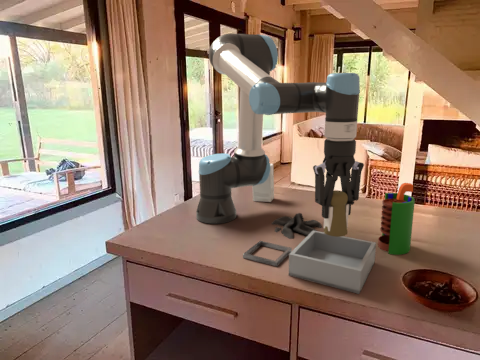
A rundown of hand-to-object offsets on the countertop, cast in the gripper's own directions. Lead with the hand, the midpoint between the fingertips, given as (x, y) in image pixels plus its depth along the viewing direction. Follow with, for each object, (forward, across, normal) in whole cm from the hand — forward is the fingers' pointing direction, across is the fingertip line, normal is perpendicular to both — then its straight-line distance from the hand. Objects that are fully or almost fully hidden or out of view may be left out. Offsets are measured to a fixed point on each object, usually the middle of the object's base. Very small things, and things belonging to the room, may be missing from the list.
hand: (335, 227), depth 95 cm
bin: (+12, 0, 0) cm, 12 cm away
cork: (+1, 0, 0) cm, 1 cm away
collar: (+12, -13, +14) cm, 22 cm away
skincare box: (+12, +6, +63) cm, 64 cm away
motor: (+12, +24, +5) cm, 28 cm away
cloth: (+12, +4, +28) cm, 31 cm away
